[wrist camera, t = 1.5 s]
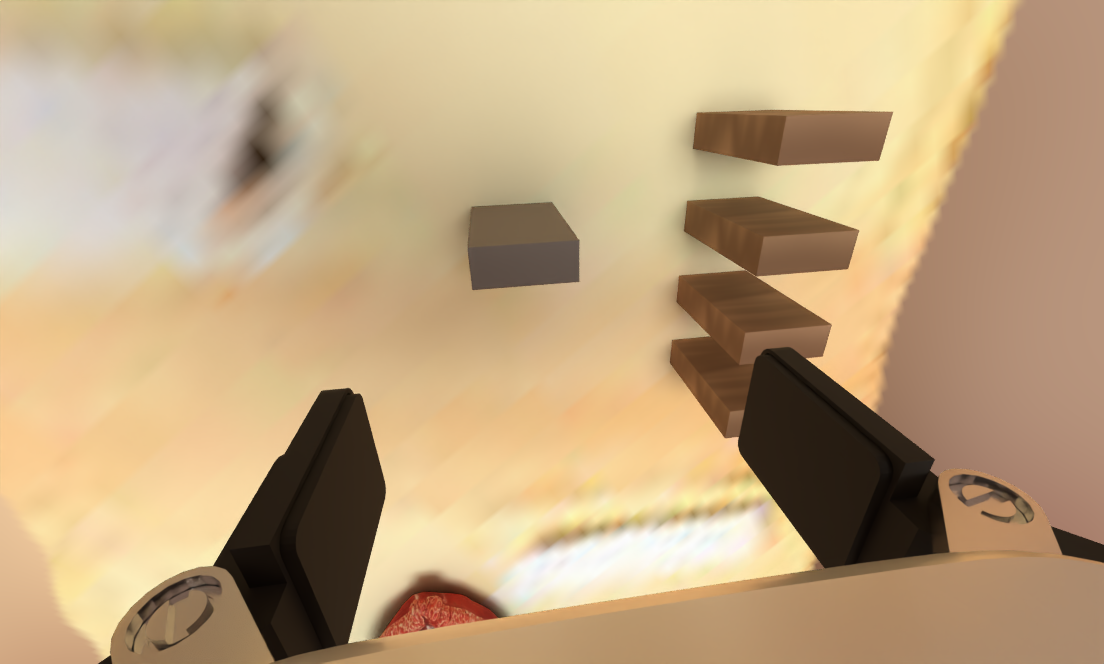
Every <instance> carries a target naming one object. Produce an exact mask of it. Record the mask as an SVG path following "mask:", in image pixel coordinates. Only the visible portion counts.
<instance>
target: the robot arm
mask: <svg viewBox="0 0 1104 664" xmlns="http://www.w3.org/2000/svg"><path fill="white" fill-rule="evenodd" d="M738 447H739V451H740V454H741V455H742V457H743V458H744V460H745V461H746V462H747V464H748V465H749V466H750V468H751V469H752V471H753V472H754V473H755V475H756V476H757V477H758V479H759V480H760V481H761V483H762V484H763V485H764V487H765V488H766V489H767V491H768V492H769V494H770V495H771V496H772V498H773V499H774V500H775V502H776V503H777V504H778V506H779V507H780V508H781V510H782V511H783V513H784V514H785V515H786V517H787V518H788V519H789V521H790V522H791V523H792V525H793V526H794V527H795V529H796V530H797V531H798V533H799V534H800V536H801V537H802V538H803V540H804V541H805V542H806V544H807V545H808V546H809V548H810V549H811V550H812V552H813V553H814V555H815V556H816V557H817V559H818V560H819V561H820V563H821V564H822V565H823V567H824V568H825V569H819V570H811V571H804V572H798V573H791V574H784V575H777V576H770V577H763V578H756V579H750V580H743V581H736V582H729V583H723V584H716V585H710V586H703V587H696V588H690V589H683V590H676V591H670V592H663V593H657V594H650V595H644V596H637V597H631V598H624V599H618V600H611V601H604V602H598V603H591V604H585V605H578V606H572V607H566V608H559V609H553V610H547V611H540V612H534V613H528V614H521V615H515V616H509V617H502V618H496V619H490V620H483V621H477V622H471V623H464V624H458V625H452V626H445V627H440V628H434V629H428V630H423V631H417V632H411V633H406V634H400V635H394V636H388V637H383V638H377V639H371V640H366V641H360V642H354V643H349V644H348V641H349V637H350V633H351V629H352V625H353V621H354V618H355V614H356V610H357V606H358V602H359V598H360V594H361V590H362V586H363V582H364V578H365V575H366V571H367V567H368V563H369V559H370V555H371V551H372V547H373V543H374V539H375V536H376V532H377V528H378V524H379V520H380V516H381V512H382V508H383V504H384V500H385V494H386V487H385V481H384V477H383V473H382V469H381V465H380V462H379V458H378V454H377V450H376V447H375V443H374V439H373V435H372V432H371V428H370V424H369V420H368V417H367V413H366V409H365V405H364V402H363V398H362V396H361V394H354V393H353V391H352V390H351V389H350V388H345V389H335V390H324V391H321V393H320V394H319V395H318V397H317V399H316V401H315V402H314V404H313V406H312V407H311V409H310V411H309V413H308V414H307V416H306V418H305V419H304V421H303V423H302V425H301V426H300V428H299V430H298V432H297V433H296V435H295V437H294V438H293V440H292V442H291V444H290V445H289V447H288V449H287V451H286V452H285V454H283V455H282V456H280V457H278V459H277V460H276V461H275V462H274V464H273V466H272V467H271V469H270V471H269V472H268V474H267V476H266V478H265V479H264V481H263V483H262V484H261V486H260V488H259V489H258V491H257V493H256V494H255V496H254V498H253V499H252V501H251V503H250V504H249V506H248V508H247V509H246V511H245V513H244V515H243V516H242V518H241V520H240V521H239V523H238V525H237V526H236V528H235V530H234V531H233V533H232V535H231V536H230V538H229V540H228V541H227V543H226V545H225V546H224V548H223V550H222V552H221V553H220V555H219V557H218V558H217V560H216V562H215V563H214V565H213V566H208V567H198V568H195V569H191V570H188V571H185V572H182V573H180V574H178V575H176V576H174V577H172V578H169V579H167V580H165V581H164V582H162V583H161V584H159V585H158V586H156V587H155V588H153V589H152V590H151V591H149V592H148V593H146V594H145V595H144V596H143V597H142V598H141V599H140V600H139V601H138V602H136V603H135V604H134V605H133V606H132V607H131V608H130V610H129V611H128V612H127V613H126V615H125V616H124V617H123V618H122V620H121V621H120V622H119V624H118V626H117V628H116V630H115V632H114V634H113V636H112V638H111V649H110V654H111V655H110V656H109V657H107V658H106V659H104V660H103V661H101V662H100V663H98V664H1104V545H1102V544H1100V543H1097V542H1094V541H1091V540H1088V539H1086V538H1083V537H1079V536H1077V535H1074V534H1071V533H1069V532H1066V531H1063V530H1060V529H1057V528H1054V527H1051V526H1050V523H1049V521H1048V518H1047V516H1046V514H1045V513H1044V511H1043V510H1042V508H1041V507H1040V505H1039V504H1038V503H1037V502H1036V501H1034V500H1033V499H1032V498H1031V497H1030V496H1029V495H1028V494H1026V493H1025V492H1023V491H1021V490H1020V489H1019V488H1017V487H1015V486H1014V485H1012V484H1010V483H1008V482H1006V481H1004V480H1002V479H1000V478H997V477H995V476H991V475H989V474H986V473H983V472H979V471H975V470H970V469H958V468H955V469H949V470H945V471H943V472H942V473H941V474H940V475H939V477H937V476H936V475H935V474H933V473H932V472H931V471H930V469H931V466H932V464H933V462H934V458H932V457H931V456H929V455H928V454H927V453H926V452H925V451H923V450H922V449H921V448H919V447H918V446H917V445H916V444H914V443H913V442H912V441H910V440H909V439H908V438H906V437H905V436H904V435H903V434H902V433H900V432H899V431H898V430H896V429H895V428H894V427H893V426H891V425H890V424H889V423H888V422H886V421H885V420H884V419H882V418H881V417H880V416H879V415H877V414H876V413H875V412H873V411H872V410H871V409H870V408H868V407H867V406H866V405H864V404H863V403H862V402H861V401H859V400H858V399H857V398H855V397H854V396H853V395H852V394H850V393H849V392H848V391H847V390H845V389H844V388H843V387H841V386H840V385H839V384H838V383H836V382H835V381H834V380H832V379H831V378H830V377H829V376H827V375H826V374H825V373H823V372H822V371H821V370H820V369H818V368H817V367H816V366H815V365H813V364H812V363H811V362H809V361H808V360H807V359H806V358H804V357H803V356H802V355H800V354H799V353H798V352H797V351H795V350H794V349H792V348H791V347H781V348H770V349H765V350H763V352H762V353H761V355H759V356H757V357H756V359H755V362H754V366H753V371H752V376H751V381H750V386H749V391H748V396H747V400H746V405H745V410H744V415H743V420H742V425H741V429H740V434H739V439H738Z"/></svg>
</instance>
